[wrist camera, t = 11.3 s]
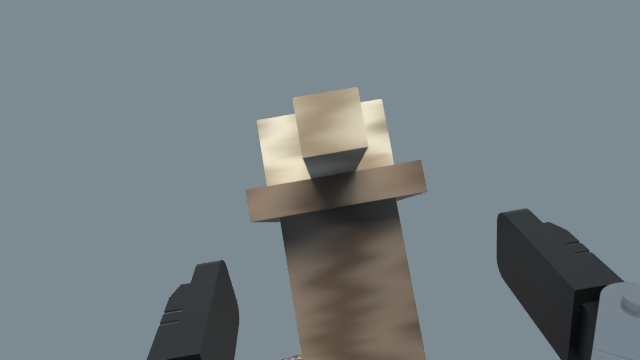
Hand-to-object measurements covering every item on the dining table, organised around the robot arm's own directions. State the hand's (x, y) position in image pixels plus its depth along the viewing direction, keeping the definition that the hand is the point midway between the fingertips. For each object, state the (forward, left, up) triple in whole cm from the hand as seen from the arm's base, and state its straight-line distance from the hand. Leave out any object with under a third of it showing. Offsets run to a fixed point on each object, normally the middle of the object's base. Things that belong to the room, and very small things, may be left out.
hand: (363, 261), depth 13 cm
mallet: (+8, -14, +4) cm, 17 cm away
